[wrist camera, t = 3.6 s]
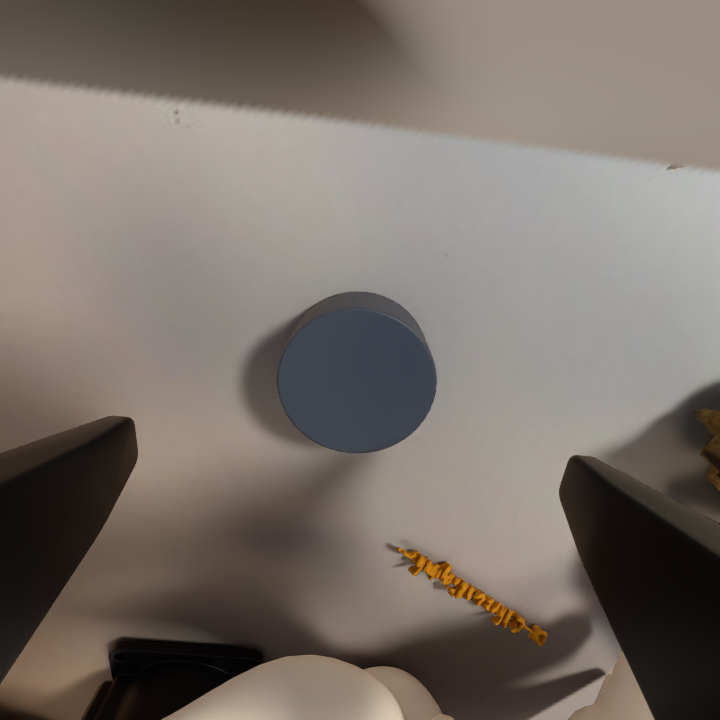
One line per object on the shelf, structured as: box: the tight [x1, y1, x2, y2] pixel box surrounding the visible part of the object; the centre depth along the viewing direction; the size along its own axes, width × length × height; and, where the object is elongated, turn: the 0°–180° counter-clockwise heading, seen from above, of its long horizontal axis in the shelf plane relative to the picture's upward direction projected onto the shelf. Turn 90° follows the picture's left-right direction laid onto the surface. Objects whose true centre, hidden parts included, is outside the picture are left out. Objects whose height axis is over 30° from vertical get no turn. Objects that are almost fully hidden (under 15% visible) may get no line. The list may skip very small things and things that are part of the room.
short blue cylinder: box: [277, 292, 437, 453], centre depth 13 cm, size 4×4×2 cm
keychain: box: [397, 547, 547, 647], centre depth 17 cm, size 8×1×1 cm, turn 52°
